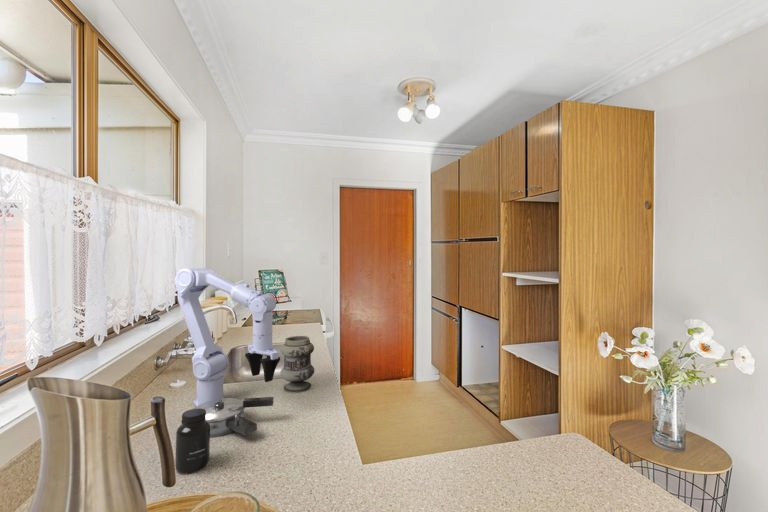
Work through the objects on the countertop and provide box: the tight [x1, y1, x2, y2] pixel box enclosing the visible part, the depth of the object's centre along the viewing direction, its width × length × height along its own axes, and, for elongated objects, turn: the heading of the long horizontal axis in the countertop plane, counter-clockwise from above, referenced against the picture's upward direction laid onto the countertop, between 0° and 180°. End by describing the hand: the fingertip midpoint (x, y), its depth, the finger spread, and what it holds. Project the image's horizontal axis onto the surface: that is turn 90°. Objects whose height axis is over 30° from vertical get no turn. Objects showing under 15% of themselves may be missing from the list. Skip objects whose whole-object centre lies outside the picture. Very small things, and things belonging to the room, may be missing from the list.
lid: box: [193, 396, 275, 422], centre depth 99 cm, size 21×14×2 cm, turn 101°
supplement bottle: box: [174, 408, 211, 475], centre depth 79 cm, size 7×7×12 cm
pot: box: [209, 410, 258, 438], centre depth 96 cm, size 21×13×7 cm, turn 56°
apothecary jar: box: [279, 335, 315, 394], centre depth 127 cm, size 12×12×18 cm
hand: (262, 378), depth 108 cm, fingers open, 7 cm apart
